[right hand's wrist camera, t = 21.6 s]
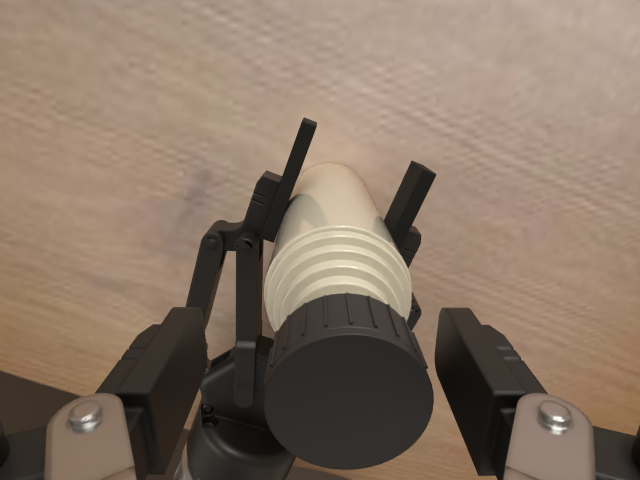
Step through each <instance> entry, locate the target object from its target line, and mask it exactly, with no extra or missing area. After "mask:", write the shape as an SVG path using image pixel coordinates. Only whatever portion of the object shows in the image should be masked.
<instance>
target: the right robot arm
mask: <svg viewBox="0 0 640 480" xmlns="http://www.w3.org/2000/svg"><path fill="white" fill-rule="evenodd" d="M206 367H207V347H206V338H205V330H204V321H203V313H202V310H201V308H200V307H173V308H172V309H171V310H170V312H169V313H168V315H167V316H166V318H165V319H164V321H163V322H162V324H153V325H152V326H150V327H149V328H147V329H146V330H145V331H143V332H142V333H140V334H139V335H138V336H137V337H136V339H135V340H134V341H133V343H132V344H131V345H130V347H129V349H127V351H126V352H125V353H124V355H123V356H122V359H121V360H119V361H118V363H117V364H116V366H115V367H114V368H113V370H112V371H111V372H110V374H109V375H108V376H107V378H106V379H105V380H104V382H103V383H102V384H101V386H100V387H99V388H98V390H97V391H96V392H95V394H91V395H87V396H84V397H81V398H78V399H76V400H74V401H72V402H70V403H69V404H67V405H65V406H64V407H63V408H61V409H60V410H59V411H58V412H57V413H56V414H55V415H54V416H53V417H52V418H51V420H50V421H49V423H48V425H47V426H44V427H40V428H35V429H31V430H26V431H22V432H18V433H13V434H9V435H6V434H5V431H4V429H3V426H2V424H1V422H0V480H145V478H146V476H147V474H165V472H166V469H167V467H168V464H169V462H170V459H171V457H172V454H173V452H174V449H175V447H176V444H177V442H178V439H179V437H180V434H181V432H182V430H183V427H184V425H185V422H186V420H187V417H188V415H189V412H190V410H191V407H192V405H193V402H194V400H195V397H196V395H197V392H198V390H199V388H200V385H201V383H202V380H203V378H204V375H205V372H206ZM435 367H436V372H437V376H438V378H439V381H440V383H441V385H442V388H443V390H444V393H445V395H446V398H447V400H448V403H449V405H450V407H451V410H452V412H453V415H454V417H455V420H456V422H457V424H458V427H459V429H460V432H461V434H462V437H463V439H464V441H465V444H466V446H467V449H468V451H469V454H470V456H471V459H472V461H473V463H474V466H475V468H476V471H477V473H478V476H496V477H497V479H498V480H640V426H639V429H638V431H637V434H636V436H633V435H629V434H625V433H620V432H616V431H612V430H608V429H603V428H599V427H596V426H592V423H591V421H590V420H589V418H588V417H587V416H586V415H585V414H584V412H582V411H581V410H580V409H579V408H577V407H576V406H575V405H573V404H571V403H570V402H568V401H566V400H564V399H562V398H559V397H556V396H553V395H549V394H548V393H547V392H546V391H545V389H544V388H543V387H542V385H541V384H540V383H539V381H538V380H537V379H536V377H535V376H534V375H533V373H532V372H531V371H530V369H529V368H528V367H527V365H526V364H525V363H524V361H521V357H520V356H519V355H518V353H517V352H516V351H515V350H513V347H512V345H511V344H510V343H509V341H508V340H507V339H506V337H505V336H504V335H503V334H501V333H500V332H498V331H497V330H496V329H494V328H493V327H491V326H490V325H481V324H480V322H479V321H478V319H477V318H476V316H475V315H474V314H473V312H472V311H471V309H470V308H442V309H441V311H440V314H439V322H438V331H437V339H436V348H435Z"/></svg>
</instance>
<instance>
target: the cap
mask: <svg viewBox="0 0 640 480" xmlns="http://www.w3.org/2000/svg"><path fill="white" fill-rule="evenodd" d="M427 368H428V367H427V364H426V362H425V359H424V357H423V354H422V352H421V349H420V347H419V344H418V342H417V339H416V337H415V334H414V332H413V333H412V332H411V330H410V328H409V326H408V325H407V322H406V320H405V318H404V316H403V317H401V315H399V314H398V313H397V312H396V311H395V310H394V309H393V308H391V307H390V305H389V304H385V303H383V302H381V301H379V300H377V299H374V298H372V297H371V296H365V295H361V294H353V293H338V294H330V295H323V296H322V297H319V298H316V299H313V300H311V301H309V302H307V303H306V302H305V303H303V305H302V306H301V307H299V308H298V309H296V310H295V311H294V312H293V313H292V314H290V315H288V316H287V318H286V320H285V321H284V322H283V324H282V325H281V327H280V328H279V330H276V332H275V338H274V343H273V348H270V353H269V359H268V364H267V369H266V375H265V380H264V385H265V386H266V388H265V394H264V412H265V417H266V420H267V423H268V425H269V428H270V430H271V431H272V433H273V435H274V436H275V438H276V439H277V440H278V441H279V443H280V444H281V445H282V446H283V447H285V448H286V449H287V450H288V451H289V452H291V453H292V454H293V455H295V456H297V457H299V458H300V459H302V460H304V461H307V462H309V463H311V464H314V465H318V466H321V467H326V468H331V469H341V470H352V469H362V468H367V467H372V466H375V465H379V464H382V463H384V462H387V461H389V460H391V459H393V458H395V457H397V456H399V455H400V454H402V453H403V452H404V451H406V450H407V449H409V448H410V447H411V446H412V445H413V444H414V443H415V442H416V441H417V440H418V439H419V437H420V436H421V435H422V433H423V432H424V430H425V429H426V427H427V425H428V423H429V421H430V418H431V414H432V411H433V403H434V398H433V389H432V384H431V381H430V379H429V376H428V374H427V371H426V369H427Z"/></svg>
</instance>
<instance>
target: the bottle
mask: <svg viewBox="0 0 640 480" xmlns="http://www.w3.org/2000/svg"><path fill="white" fill-rule="evenodd" d="M338 293H353V294H361V295H365V296H371V297H372V298H374V299H377V300H379V301H381V302H383V303H385V304H389V305H390V307H391V308H393V309H394V310H395V311H396V312H397V313H398V314H399V315H401V317H403V316H404V318H405V320H406V322H407V320H408V317H409V314H410V309H411V300H412V283H411V278H410V273H409V270H408V268H407V265H406V263H405V261H404V259H403V257H402V255H401V253H400V251H399V250H398V248H397V246H396V244H395V242H394V240H393V238H392V236H391V234H390V232H389V230H388V228H387V226H386V224H385V222H384V220H383V218H382V216H381V214H380V212H379V210H378V208H377V206H376V205H375V203H374V201H373V199H372V197H371V195H370V193H369V191H368V189H367V187H366V185H365V183H364V182H363V180H362V179H361V177H360V176H359V175H358V174H357V173H356V172H354V171H353V170H351V169H350V168H348V167H346V166H343V165H340V164H335V163H323V164H318V165H315V166H312V167H310V168H308V169H307V170H305V171H304V172H303V173H301V174H300V175H299V176H298V178H297V181H296V183H295V186H294V189H293V192H292V194H291V197H290V200H289V202H288V205H287V208H286V210H285V213H284V216H283V219H282V221H281V224H280V228H279V231H278V235H277V238H276V242H275V245H274V249H273V252H272V256H271V260H270V263H269V267H268V270H267V274H266V278H265V282H264V303H265V307H266V311H267V316H268V319H269V322H270V324H271V326H272V328H273V330H274V332H276V330H279V328H280V327H281V325H282V324H283V322H284V321H285V320H286V318H287V316H288V315H290V314H292V313H293V312H294V311H295V310H296V309H298V308H299V307H301V306H302V305H303V303H305V302H306V303H307V302H309V301H311V300H313V299H316V298H319V297H322V296H323V295H330V294H338Z"/></svg>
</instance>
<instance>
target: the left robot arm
mask: <svg viewBox="0 0 640 480" xmlns="http://www.w3.org/2000/svg"><path fill="white" fill-rule="evenodd" d="M316 127H317V122H314V121H312V120H309V119H307V118H303V120H302V123H301V126H300V128H299V131H298V134H297V137H296V140H295V142H294V145H293V148H292V151H291V154H290V156H289V159H288V162H287V165H286V168H285V170H284V173H283V176H280V175H277V174H275V173H272V172H269V171H266V172H265V173H264V174H263V175H262V176H261V177H260V179H259V180H258V182H257V184H256V187H255V190H254V193H253V196H252V199H251V201H250V204H249V207H248V210H247V213H246V216H245V219H244V220H243V221H242V222H239V223H228V222H226V221H224V220H219V221H216V222H215V223H214V224H213V225H212V226H211V228H210V229H209V230H208V231H207V233H206V234H205V235H204V236H203V238H202V240H201V244H200V248H199V253H198V257H197V261H196V265H195V270H194V274H193V278H192V282H191V286H190V291H189V295H188V299H187V303H186V307H200V308H201V310H202V313H203V321H204V330H205V329H206V327H207V324H208V321H209V318H210V314H211V310H212V306H213V302H214V298H215V295H216V291H217V287H218V283H219V279H220V276H221V272H222V268H223V264H224V260H225V256H226V253H227V251H236V343H235V347H234V348H232V349H230V350H228V351H227V352H225V353H223V354H222V355H220V356H218V357H216V358H215V359H213V360H209V359H208V357H207V367H206V372H205V375H204V378H203V380H202V383H201V385H200V391H201V394H202V399H201V401H200V404H199V407H198V410H197V413H196V415H195V418H194V421H193V424H192V427H191V429H190V432H189V435H188V439H187V442H186V445H185V447H184V450H183V452H182V455H181V458H180V461H179V463H178V466H177V469H176V472H175V474H174V477H173V480H285V479H286V477H287V475H288V473H289V471H290V469H291V467H292V465H293V462H294V460H295V458H296V456H295V455H293V454H292V453H291V452H289V451H288V450H287V449H286V448H285V447H283V446H282V445H281V444H280V443H279V441H278V440H277V439H276V438H275V436H274V435H273V433H272V431H271V430H270V428H269V425H268V423H267V420H266V417H265V412H264V394H265V388H266V386H265V385H264V380H265V375H266V369H267V364H268V359H269V353H270V348H273V343H274V340H273V339H271V338H268V337H265V336H262V280H263V241H264V239H265V240H268V241H270V242H273V243H274V240H275V237H276V235H277V232H278V229H279V227H280V224H281V221H282V219H283V216H284V213H285V210H286V208H287V205H288V202H289V200H290V197H291V194H292V192H293V189H294V186H295V183H296V181H297V178H298V175H299V173H300V170H301V167H302V165H303V162H304V159H305V157H306V154H307V151H308V148H309V146H310V143H311V140H312V138H313V135H314V132H315V130H316ZM435 176H436V174H435V173H434V172H432V171H431V170H429V169H428V168H427V167H425V166H424V165H421V164H419V163H416V162H414V161H411V163H410V165H409V168H408V170H407V172H406V174H405V176H404V178H403V181H402V183H401V185H400V187H399V189H398V191H397V193H396V196H395V198H394V200H393V202H392V204H391V206H390V209H389V211H388V213H387V215H386V217H385V219H384V222H385V224H386V226H387V228H388V230H389V232H390V234H391V236H392V238H393V240H394V242H395V244H396V246H397V248H398V250H399V251H400V253H401V255H402V257H403V259H404V261H405V263H406V265H407V268H409V266H410V264H411V262H412V259H413V258H414V256H415V253H416V252H417V250H418V248H419V246H420V244H421V234H420V233H419V231H418V230H417V228H416V227H414V226H412V223H413V221H414V219H415V217H416V215H417V213H418V211H419V209H420V207H421V205H422V203H423V201H424V199H425V197H426V195H427V193H428V191H429V189H430V187H431V185H432V183H433V181H434V178H435ZM420 316H421V309H420V307H419V305H418V303H417V301H416V298H415V296H414V294H413V292H412V300H411V309H410V314H409V317H408V320H407V325H408V326H409V328H410V330H411V331H412V329H413V327H414V326H415V324H416V323H417V321H418V319H419V318H420ZM206 347H207V349H208V344H207V342H206Z"/></svg>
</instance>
